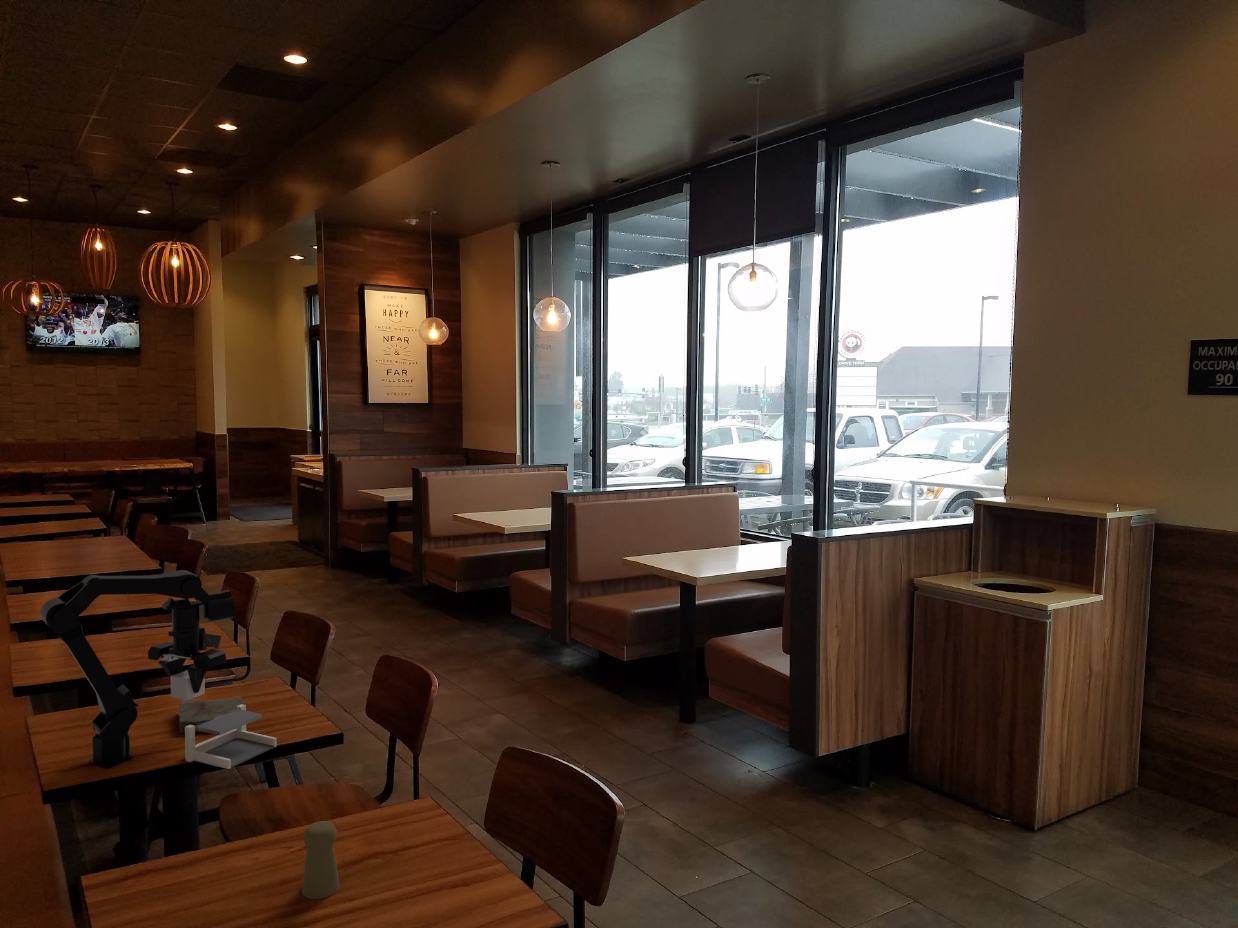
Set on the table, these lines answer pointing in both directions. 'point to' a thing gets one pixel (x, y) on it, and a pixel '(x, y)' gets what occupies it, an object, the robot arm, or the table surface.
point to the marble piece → (204, 710)
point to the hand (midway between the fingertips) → (187, 690)
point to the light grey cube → (184, 687)
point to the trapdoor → (228, 722)
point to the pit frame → (227, 746)
